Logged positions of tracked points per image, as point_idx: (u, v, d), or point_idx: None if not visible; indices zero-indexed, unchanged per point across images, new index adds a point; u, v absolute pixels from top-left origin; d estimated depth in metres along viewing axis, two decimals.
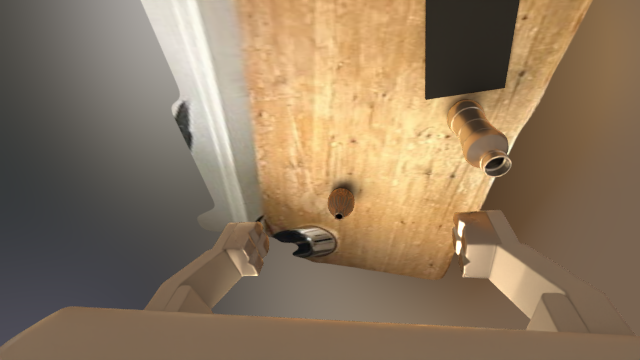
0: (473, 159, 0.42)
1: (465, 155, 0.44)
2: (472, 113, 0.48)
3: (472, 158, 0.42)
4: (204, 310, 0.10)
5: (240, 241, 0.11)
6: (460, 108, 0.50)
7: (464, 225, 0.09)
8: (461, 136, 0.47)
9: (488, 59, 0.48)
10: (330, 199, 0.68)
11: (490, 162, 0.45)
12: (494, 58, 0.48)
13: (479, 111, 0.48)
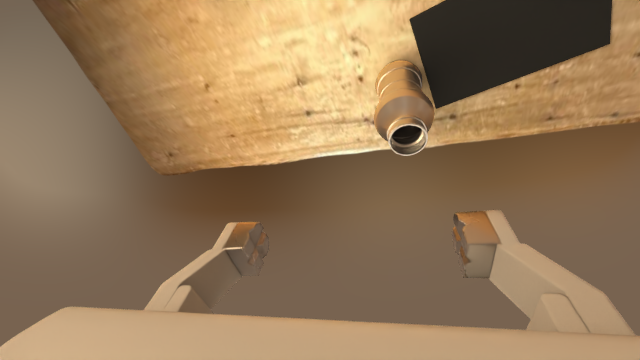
0: (394, 108, 0.28)
1: (390, 98, 0.29)
2: (420, 85, 0.35)
3: (394, 107, 0.28)
4: (204, 310, 0.10)
5: (240, 241, 0.11)
6: (415, 70, 0.37)
7: (464, 225, 0.09)
8: (399, 83, 0.32)
9: (470, 73, 0.39)
10: None
11: None
12: (472, 79, 0.40)
13: None
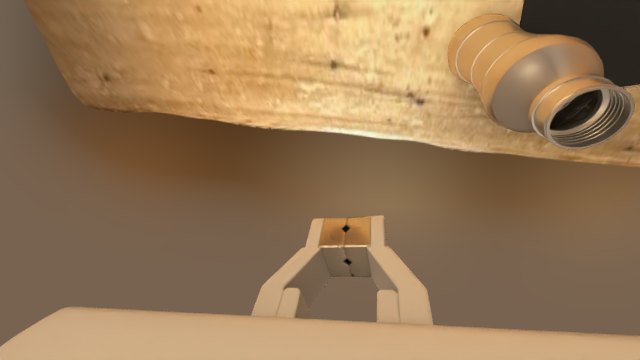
0: (555, 60, 0.15)
1: (544, 42, 0.16)
2: None
3: (556, 59, 0.15)
4: (308, 315, 0.09)
5: (336, 238, 0.10)
6: None
7: (349, 229, 0.10)
8: (531, 33, 0.20)
9: None
10: None
11: (487, 108, 0.20)
12: None
13: None
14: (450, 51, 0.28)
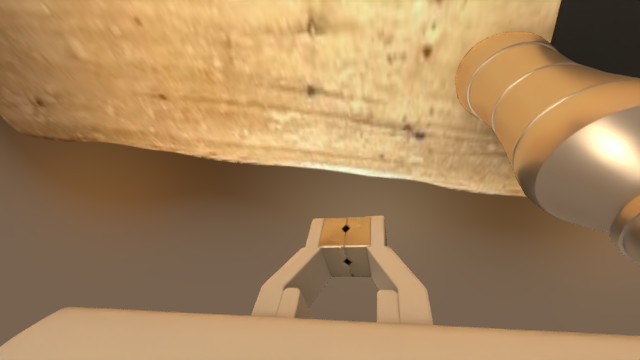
0: None
1: (635, 98, 0.09)
2: None
3: None
4: (308, 315, 0.09)
5: (336, 238, 0.10)
6: None
7: (349, 229, 0.10)
8: (591, 69, 0.13)
9: None
10: None
11: None
12: None
13: None
14: (459, 79, 0.21)
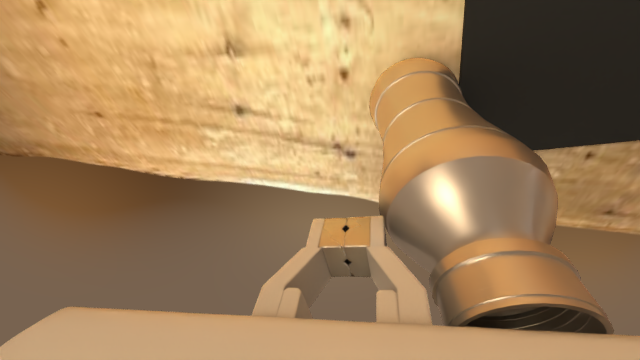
0: (470, 193, 0.08)
1: (454, 151, 0.09)
2: None
3: (471, 189, 0.08)
4: (308, 315, 0.09)
5: (337, 238, 0.10)
6: None
7: (348, 229, 0.10)
8: (453, 108, 0.13)
9: (532, 116, 0.22)
10: None
11: None
12: (529, 126, 0.23)
13: None
14: (370, 104, 0.21)
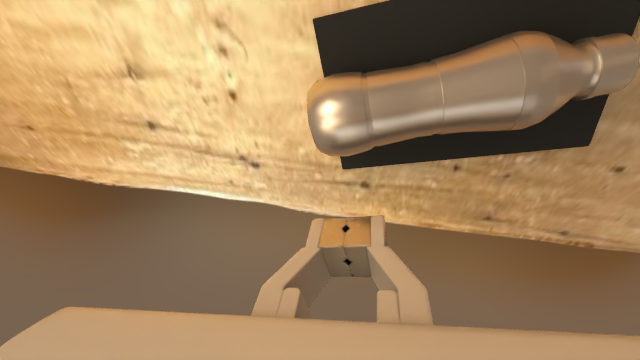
0: (561, 39, 0.16)
1: (536, 32, 0.16)
2: None
3: (559, 38, 0.16)
4: (308, 315, 0.09)
5: (336, 238, 0.10)
6: None
7: (349, 229, 0.10)
8: (452, 54, 0.18)
9: None
10: None
11: (529, 113, 0.16)
12: (397, 142, 0.26)
13: None
14: (342, 122, 0.18)
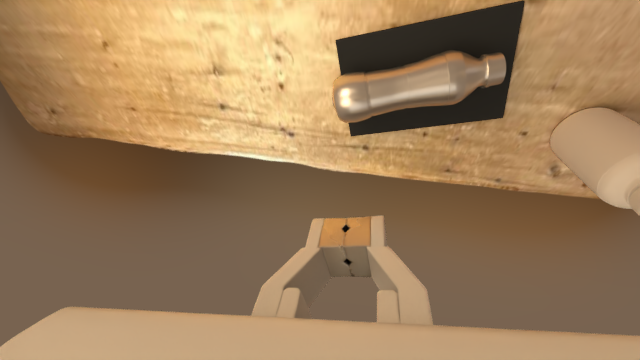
0: (470, 55, 0.31)
1: (456, 51, 0.31)
2: None
3: None
4: (308, 315, 0.09)
5: (336, 238, 0.10)
6: None
7: (349, 229, 0.10)
8: (415, 62, 0.33)
9: None
10: None
11: (453, 94, 0.31)
12: (386, 116, 0.40)
13: None
14: (354, 100, 0.33)
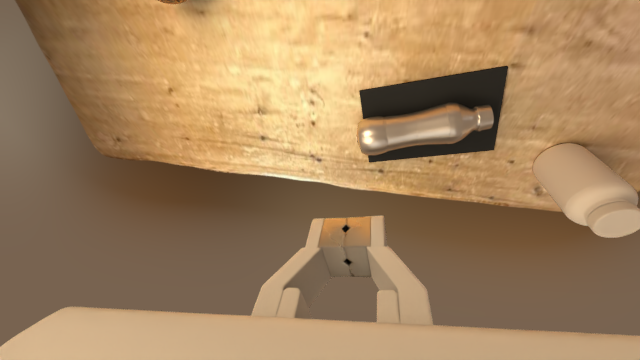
0: (465, 107, 0.40)
1: (455, 105, 0.40)
2: None
3: (465, 107, 0.40)
4: (308, 315, 0.09)
5: (336, 238, 0.10)
6: None
7: (349, 229, 0.10)
8: (423, 110, 0.42)
9: None
10: None
11: (453, 138, 0.40)
12: None
13: None
14: (375, 140, 0.42)
